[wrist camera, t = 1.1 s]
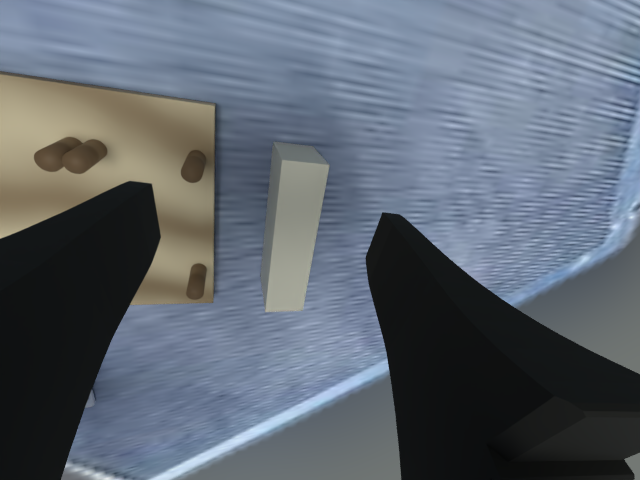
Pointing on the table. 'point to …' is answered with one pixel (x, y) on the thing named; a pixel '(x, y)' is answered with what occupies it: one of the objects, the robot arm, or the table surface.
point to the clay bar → (291, 224)
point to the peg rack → (114, 169)
